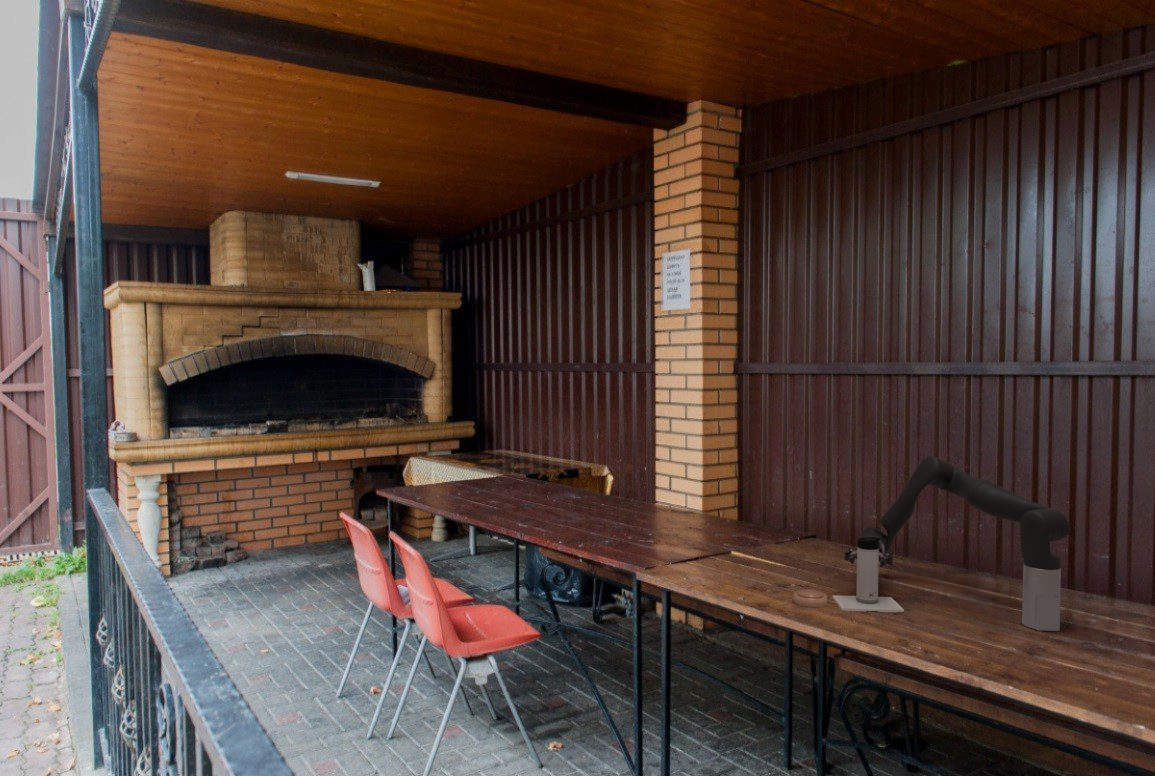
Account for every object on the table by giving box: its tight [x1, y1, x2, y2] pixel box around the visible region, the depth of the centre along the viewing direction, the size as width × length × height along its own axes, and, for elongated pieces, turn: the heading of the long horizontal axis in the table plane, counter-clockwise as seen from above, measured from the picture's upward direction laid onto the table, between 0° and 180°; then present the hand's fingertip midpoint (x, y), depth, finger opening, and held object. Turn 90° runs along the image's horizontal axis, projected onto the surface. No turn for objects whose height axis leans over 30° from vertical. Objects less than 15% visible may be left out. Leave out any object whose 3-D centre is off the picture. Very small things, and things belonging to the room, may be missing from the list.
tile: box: [832, 595, 905, 613], centre depth 248 cm, size 13×18×1 cm
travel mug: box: [855, 537, 880, 604], centre depth 248 cm, size 6×7×20 cm
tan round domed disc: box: [793, 588, 828, 608], centre depth 250 cm, size 10×10×3 cm
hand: (866, 562), depth 248 cm, fingers open, 8 cm apart
